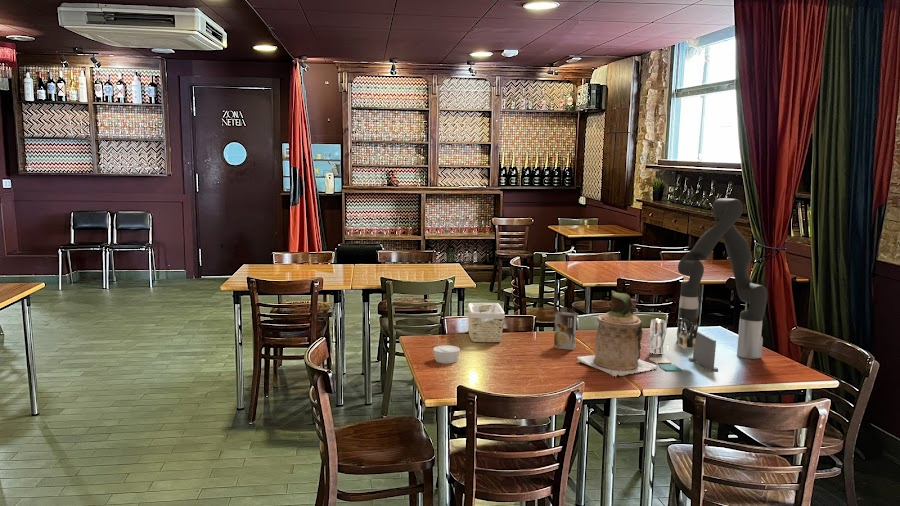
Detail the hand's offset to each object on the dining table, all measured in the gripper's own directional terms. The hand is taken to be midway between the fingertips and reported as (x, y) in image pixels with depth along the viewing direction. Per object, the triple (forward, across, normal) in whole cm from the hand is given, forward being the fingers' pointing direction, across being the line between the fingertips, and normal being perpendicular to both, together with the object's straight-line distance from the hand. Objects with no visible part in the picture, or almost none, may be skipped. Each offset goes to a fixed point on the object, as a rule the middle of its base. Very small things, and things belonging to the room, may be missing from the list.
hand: (686, 345), depth 286 cm
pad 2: (+9, -4, +9) cm, 13 cm away
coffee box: (+8, +29, +44) cm, 54 cm away
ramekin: (+7, +11, +102) cm, 102 cm away
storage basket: (+8, +49, +78) cm, 93 cm away
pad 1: (+9, +6, +9) cm, 14 cm away
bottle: (+10, +37, -18) cm, 42 cm away
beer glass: (+9, +19, +4) cm, 22 cm away
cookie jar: (+9, +1, +30) cm, 31 cm away
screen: (+9, 0, -8) cm, 12 cm away
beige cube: (+1, 0, 0) cm, 1 cm away
